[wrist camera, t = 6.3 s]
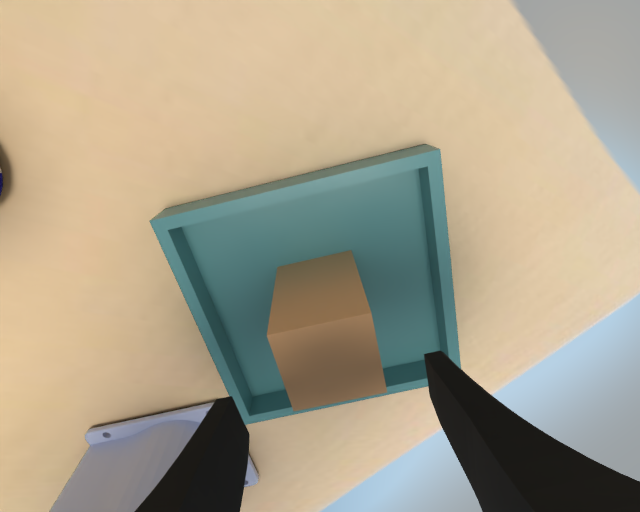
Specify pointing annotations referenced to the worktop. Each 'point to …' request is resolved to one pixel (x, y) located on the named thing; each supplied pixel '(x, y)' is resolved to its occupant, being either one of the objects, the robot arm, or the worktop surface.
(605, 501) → the robot arm
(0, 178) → the beverage can
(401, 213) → the teal tray
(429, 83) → the worktop surface
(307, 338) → the tan rectangular block
